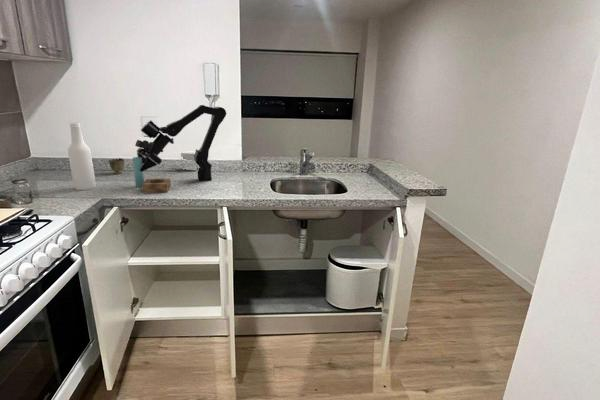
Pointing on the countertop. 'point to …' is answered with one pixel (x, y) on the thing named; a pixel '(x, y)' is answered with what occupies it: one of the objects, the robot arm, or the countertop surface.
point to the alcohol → (80, 160)
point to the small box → (188, 156)
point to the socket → (156, 185)
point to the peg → (138, 171)
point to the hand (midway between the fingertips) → (137, 169)
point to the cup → (117, 165)
